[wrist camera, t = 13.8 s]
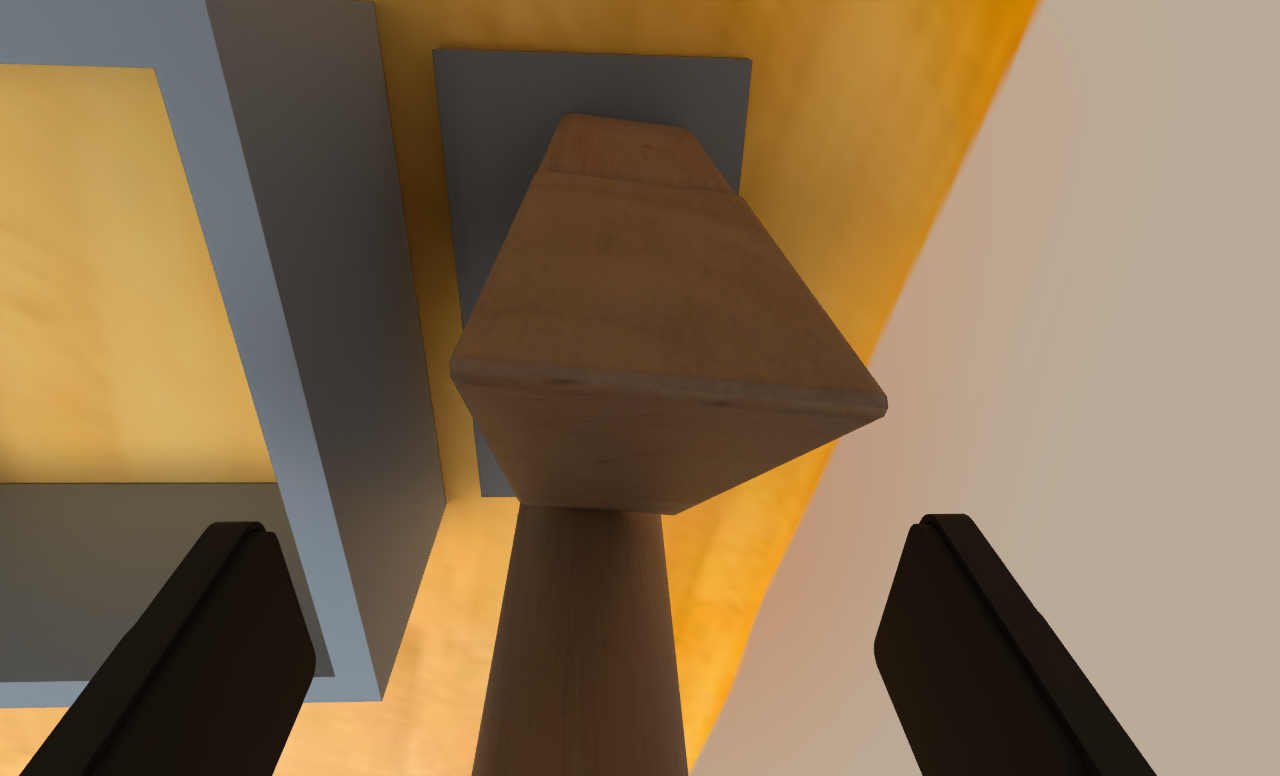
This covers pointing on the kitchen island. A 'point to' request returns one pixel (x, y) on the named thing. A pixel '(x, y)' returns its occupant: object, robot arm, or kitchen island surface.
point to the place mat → (525, 123)
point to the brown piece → (629, 427)
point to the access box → (254, 344)
